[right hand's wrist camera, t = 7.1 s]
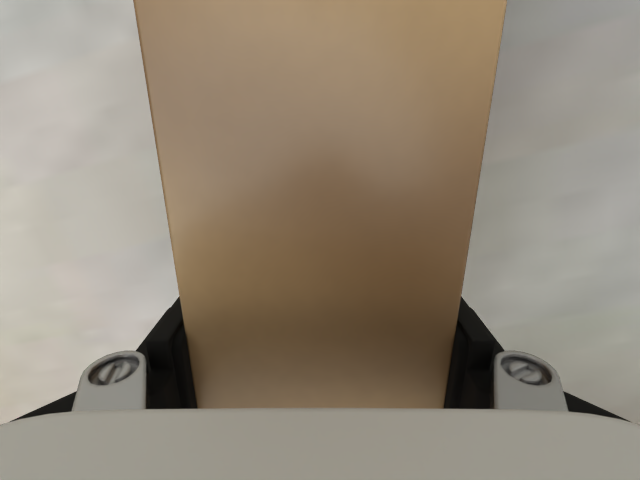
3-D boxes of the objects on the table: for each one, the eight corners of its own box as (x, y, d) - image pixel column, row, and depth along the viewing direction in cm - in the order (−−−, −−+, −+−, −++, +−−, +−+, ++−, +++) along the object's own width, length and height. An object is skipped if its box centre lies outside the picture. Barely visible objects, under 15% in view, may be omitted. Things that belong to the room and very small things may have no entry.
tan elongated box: (240, -144, 14) (-21, -964, 3) (402, -144, 14) (663, -974, 3) (266, 293, 21) (207, 484, 10) (375, 293, 20) (432, 484, 10)
